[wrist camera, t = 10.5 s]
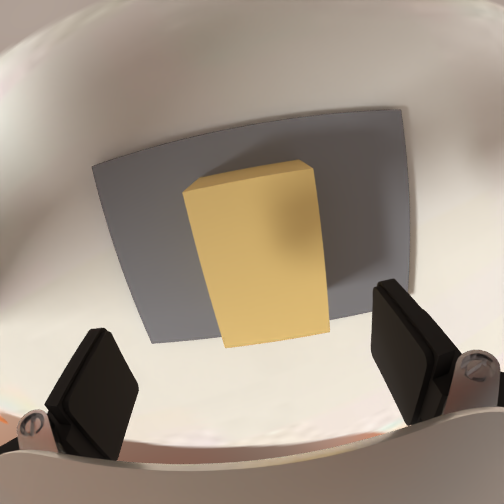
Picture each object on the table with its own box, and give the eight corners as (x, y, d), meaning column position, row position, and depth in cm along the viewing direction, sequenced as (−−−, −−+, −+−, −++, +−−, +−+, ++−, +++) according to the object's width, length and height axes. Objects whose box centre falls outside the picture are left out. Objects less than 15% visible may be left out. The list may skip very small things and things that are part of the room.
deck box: (199, 177, 18) (182, 192, 14) (299, 159, 17) (313, 168, 13) (230, 306, 21) (225, 348, 17) (316, 292, 21) (329, 332, 17)
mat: (153, 339, 23) (151, 343, 23) (95, 165, 18) (91, 166, 17) (403, 299, 22) (406, 303, 21) (396, 110, 16) (400, 109, 16)
